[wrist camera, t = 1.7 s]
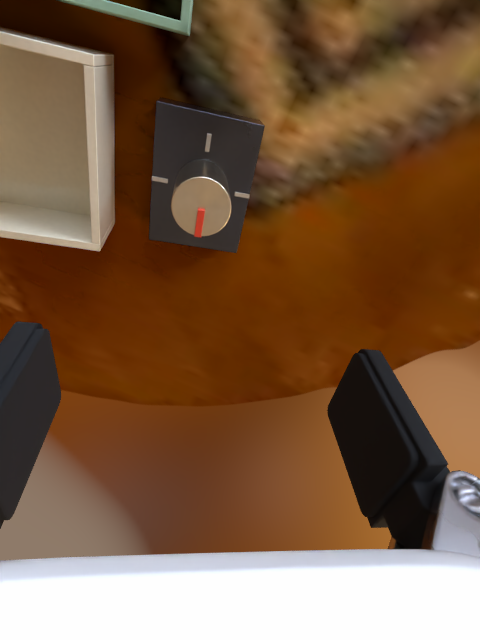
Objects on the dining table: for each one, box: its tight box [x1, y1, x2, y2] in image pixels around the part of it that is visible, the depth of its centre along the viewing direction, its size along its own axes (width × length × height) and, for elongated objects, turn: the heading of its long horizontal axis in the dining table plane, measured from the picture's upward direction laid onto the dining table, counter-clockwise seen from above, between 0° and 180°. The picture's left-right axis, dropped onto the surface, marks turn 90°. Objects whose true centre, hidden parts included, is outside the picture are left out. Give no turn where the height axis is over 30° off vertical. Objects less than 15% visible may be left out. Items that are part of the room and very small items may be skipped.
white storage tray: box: [0, 26, 115, 251], centre depth 28 cm, size 14×14×7 cm
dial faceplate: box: [149, 97, 265, 253], centre depth 33 cm, size 12×9×3 cm
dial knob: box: [171, 160, 232, 238], centre depth 30 cm, size 5×5×6 cm
